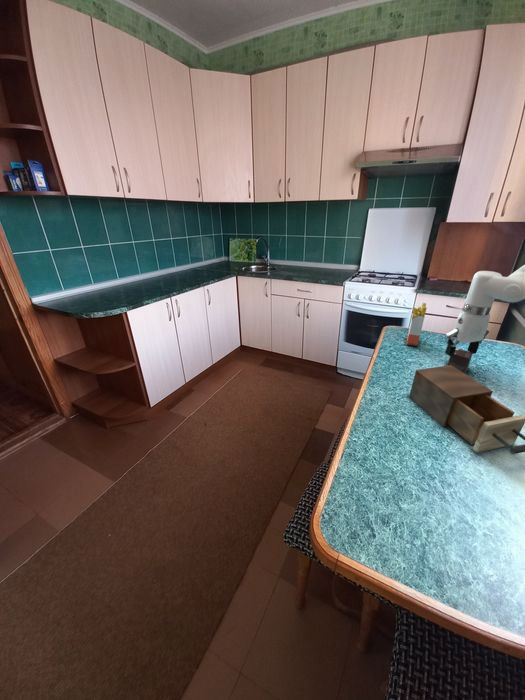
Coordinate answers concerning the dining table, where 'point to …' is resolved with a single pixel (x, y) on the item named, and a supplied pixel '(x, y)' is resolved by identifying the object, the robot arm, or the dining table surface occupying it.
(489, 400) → the drawer
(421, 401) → the cabinet
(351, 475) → the dining table surface
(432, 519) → the dining table surface
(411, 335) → the french fries container
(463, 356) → the box
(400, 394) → the dining table surface
